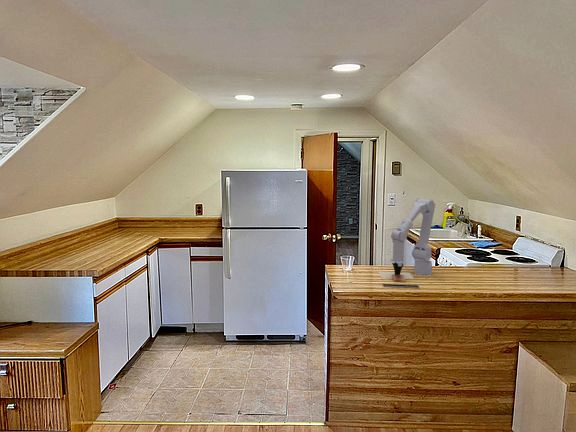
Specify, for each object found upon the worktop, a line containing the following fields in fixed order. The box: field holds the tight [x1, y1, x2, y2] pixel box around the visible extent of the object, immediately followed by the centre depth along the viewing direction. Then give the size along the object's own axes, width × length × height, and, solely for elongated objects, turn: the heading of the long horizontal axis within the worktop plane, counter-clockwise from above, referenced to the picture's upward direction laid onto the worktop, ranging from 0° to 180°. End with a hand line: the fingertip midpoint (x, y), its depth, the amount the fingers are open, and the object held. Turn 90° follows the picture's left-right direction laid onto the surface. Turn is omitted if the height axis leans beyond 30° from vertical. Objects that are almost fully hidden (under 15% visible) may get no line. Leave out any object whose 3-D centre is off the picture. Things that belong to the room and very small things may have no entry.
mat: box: [382, 283, 420, 289], centre depth 222 cm, size 18×14×1 cm
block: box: [391, 274, 407, 283], centre depth 225 cm, size 6×8×2 cm
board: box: [377, 271, 415, 280], centre depth 236 cm, size 18×13×1 cm
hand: (397, 276), depth 230 cm, fingers closed
